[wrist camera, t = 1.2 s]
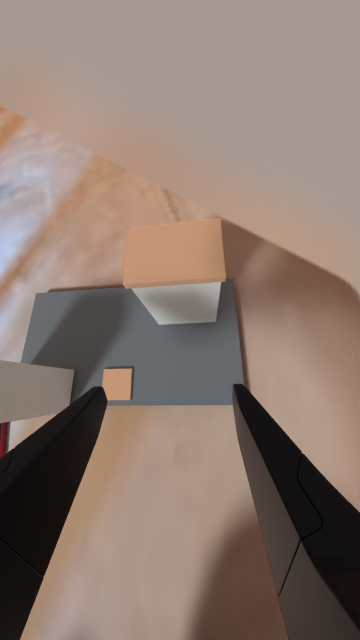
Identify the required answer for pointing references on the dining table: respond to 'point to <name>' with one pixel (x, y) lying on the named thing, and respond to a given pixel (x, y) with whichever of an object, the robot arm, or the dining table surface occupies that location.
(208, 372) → the grey flat board
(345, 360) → the dining table surface
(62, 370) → the grey rectangular block
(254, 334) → the dining table surface
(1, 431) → the smartphone
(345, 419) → the dining table surface
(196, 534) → the dining table surface
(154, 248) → the white box tan lid
